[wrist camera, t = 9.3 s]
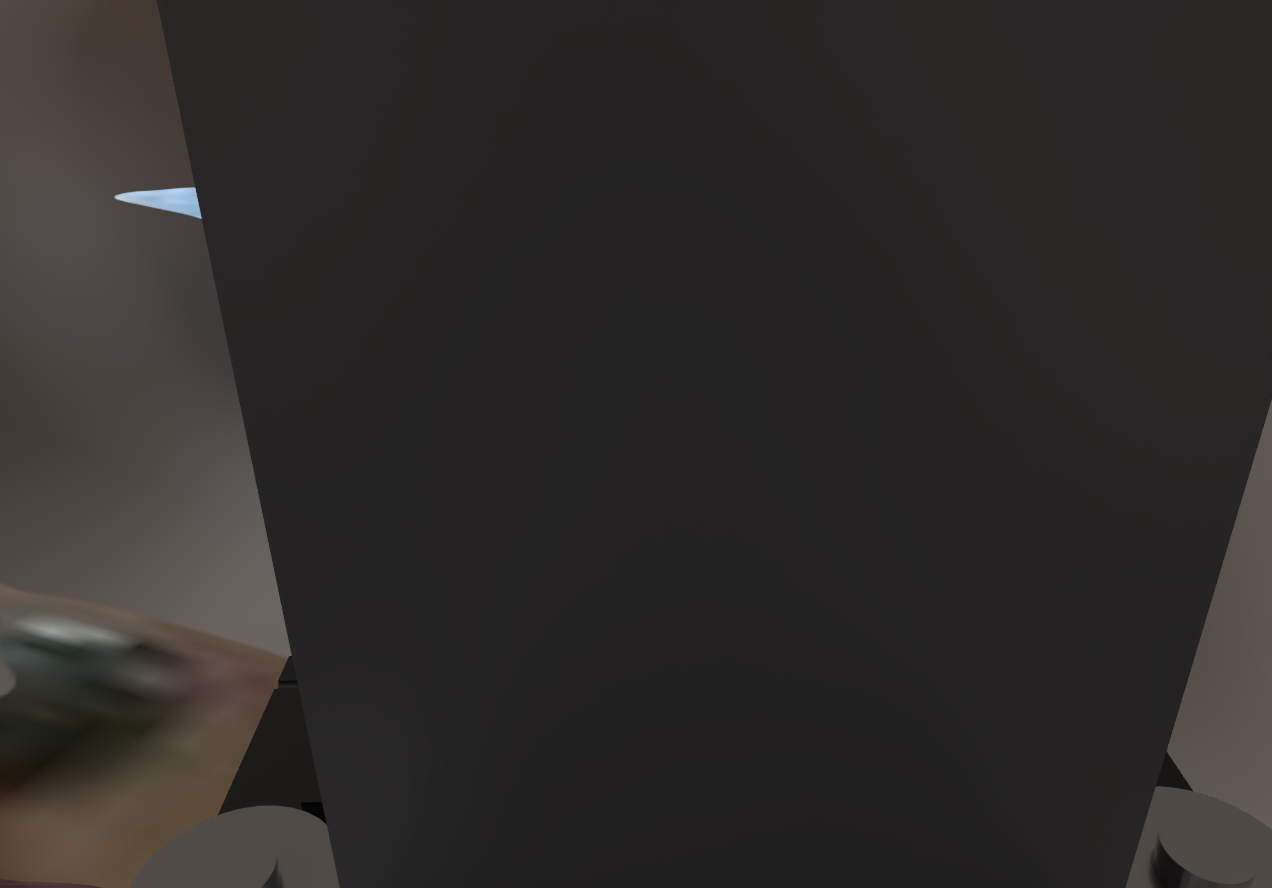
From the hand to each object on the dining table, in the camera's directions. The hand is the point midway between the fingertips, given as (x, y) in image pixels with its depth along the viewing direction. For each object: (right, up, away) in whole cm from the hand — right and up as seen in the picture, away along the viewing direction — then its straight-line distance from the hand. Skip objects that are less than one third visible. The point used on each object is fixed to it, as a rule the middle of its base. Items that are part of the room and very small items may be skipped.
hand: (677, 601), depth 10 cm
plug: (0, -8, +1) cm, 8 cm away
